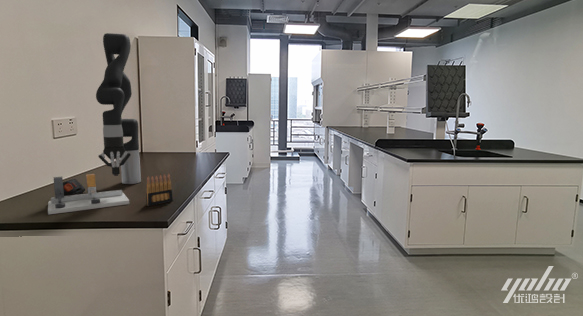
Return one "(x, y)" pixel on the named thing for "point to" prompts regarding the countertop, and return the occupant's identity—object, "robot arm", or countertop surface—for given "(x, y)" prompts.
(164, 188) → the ammunition clip
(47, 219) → the countertop surface
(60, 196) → the rail and fixed leg
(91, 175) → the block
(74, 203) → the hole plate
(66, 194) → the battery
